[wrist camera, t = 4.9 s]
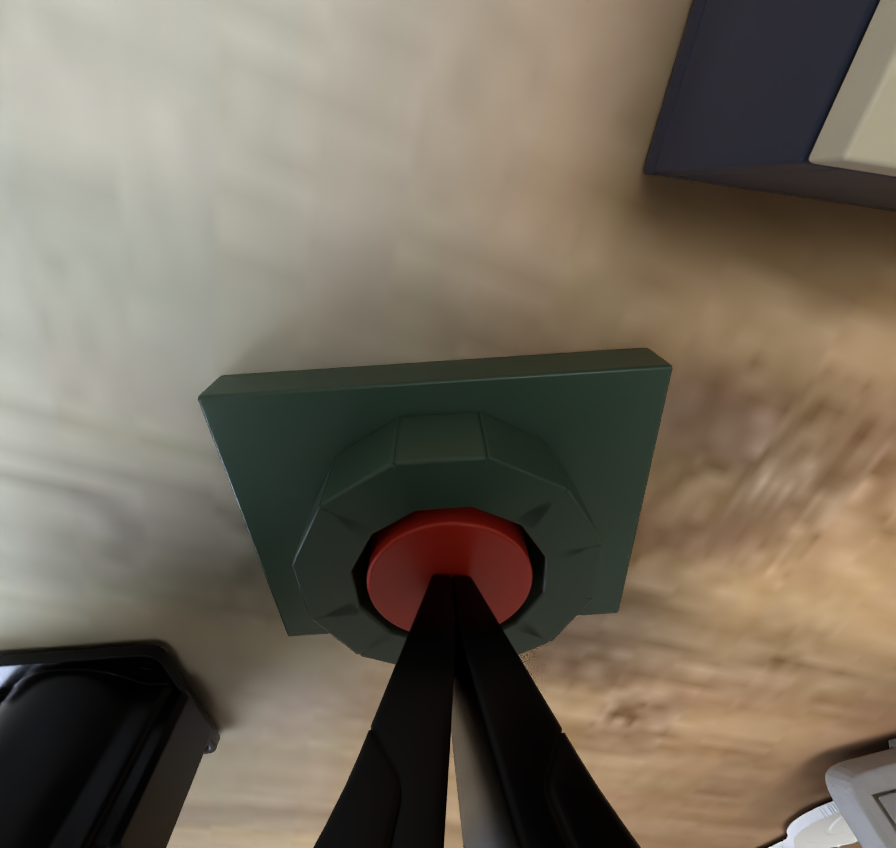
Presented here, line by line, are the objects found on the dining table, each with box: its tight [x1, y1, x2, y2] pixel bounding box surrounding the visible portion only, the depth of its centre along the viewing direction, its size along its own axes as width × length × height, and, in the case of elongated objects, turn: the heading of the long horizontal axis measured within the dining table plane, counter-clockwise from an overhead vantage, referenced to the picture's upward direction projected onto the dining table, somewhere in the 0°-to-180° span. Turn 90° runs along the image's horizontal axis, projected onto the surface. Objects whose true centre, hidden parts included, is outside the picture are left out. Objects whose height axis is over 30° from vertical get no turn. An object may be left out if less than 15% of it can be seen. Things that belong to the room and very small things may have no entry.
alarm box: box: [198, 348, 672, 665], centre depth 10 cm, size 10×8×3 cm
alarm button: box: [366, 507, 533, 631], centre depth 10 cm, size 4×4×2 cm
